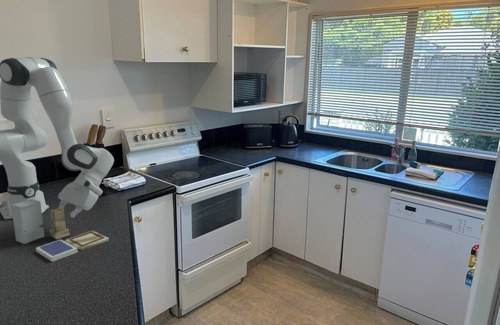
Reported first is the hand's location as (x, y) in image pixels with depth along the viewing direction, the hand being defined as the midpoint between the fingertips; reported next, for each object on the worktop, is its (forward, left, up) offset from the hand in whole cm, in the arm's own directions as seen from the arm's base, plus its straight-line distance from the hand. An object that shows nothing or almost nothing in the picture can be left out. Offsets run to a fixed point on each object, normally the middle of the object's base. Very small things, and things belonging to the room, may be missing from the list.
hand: (65, 214), depth 146 cm
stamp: (0, -3, -9) cm, 9 cm away
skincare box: (-7, -11, -9) cm, 16 cm away
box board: (+12, +2, -9) cm, 15 cm away
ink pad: (+12, -10, -9) cm, 18 cm away
